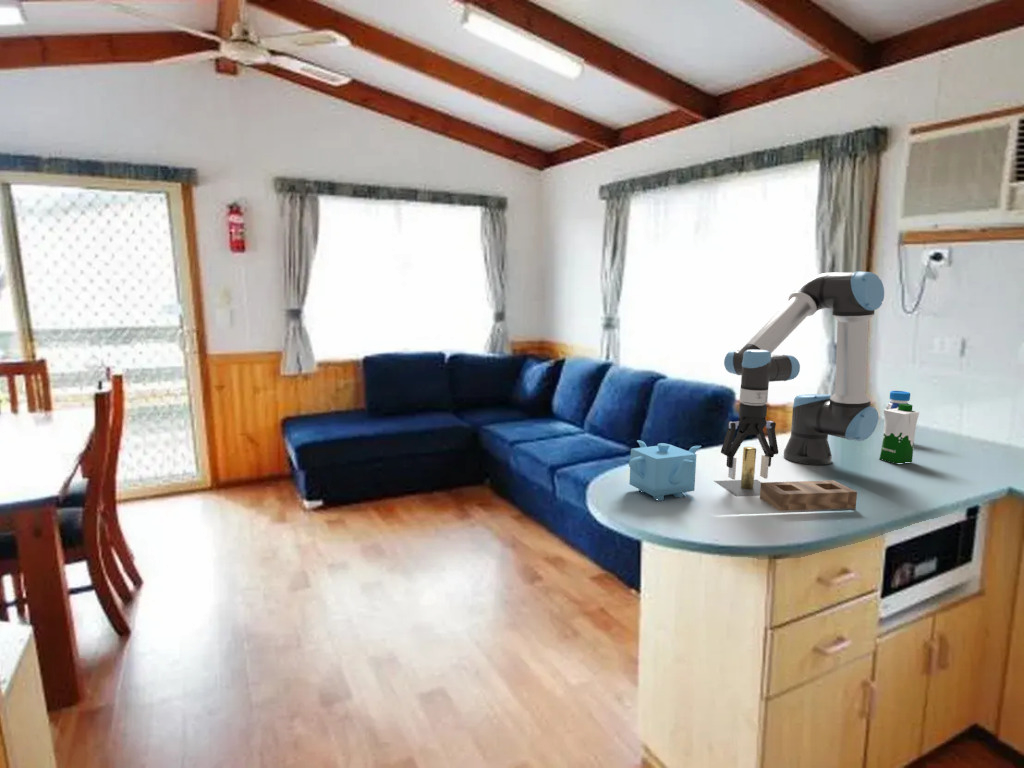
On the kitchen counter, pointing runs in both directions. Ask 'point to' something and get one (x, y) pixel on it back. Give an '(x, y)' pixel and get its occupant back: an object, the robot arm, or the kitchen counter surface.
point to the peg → (748, 467)
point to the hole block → (808, 495)
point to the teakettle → (663, 469)
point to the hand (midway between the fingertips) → (747, 477)
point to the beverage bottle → (898, 399)
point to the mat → (736, 489)
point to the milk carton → (899, 434)
